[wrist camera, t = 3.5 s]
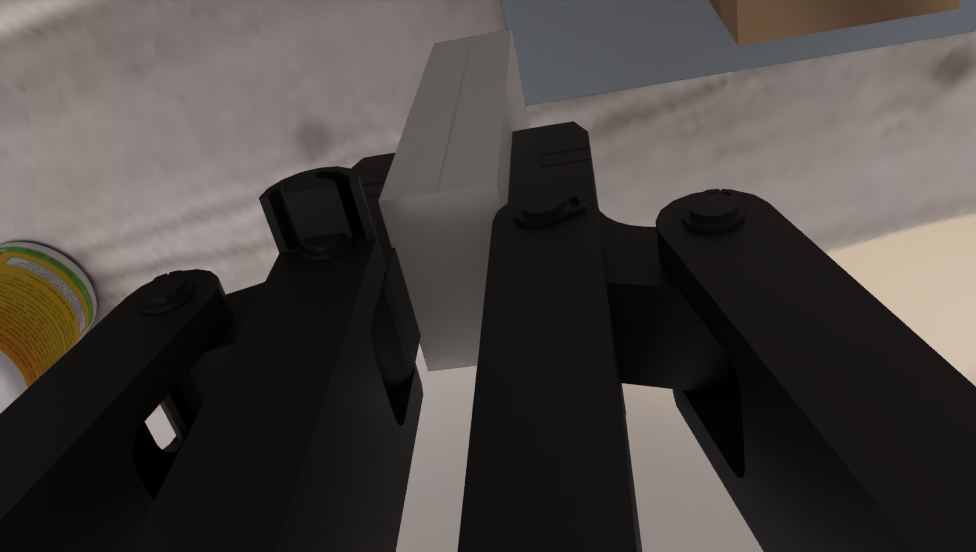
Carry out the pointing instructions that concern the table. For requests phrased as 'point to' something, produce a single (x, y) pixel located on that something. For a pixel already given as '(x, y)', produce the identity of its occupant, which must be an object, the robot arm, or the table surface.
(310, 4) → the table surface
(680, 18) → the mat
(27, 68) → the table surface
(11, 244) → the supplement bottle
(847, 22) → the walnut cube
